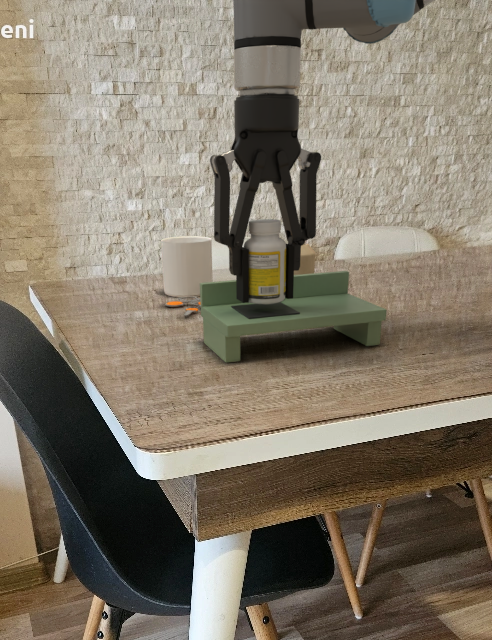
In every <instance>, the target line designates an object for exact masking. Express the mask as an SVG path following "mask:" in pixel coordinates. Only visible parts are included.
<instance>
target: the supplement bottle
mask: <svg viewBox="0 0 492 640" xmlns="http://www.w3.org/2000/svg"><path fill="white" fill-rule="evenodd" d="M281 230H282V221H281V220H280V219H271V218H261V219H252V220H249V222H248V234H250V238H248V239H247V240H245V241H244V243H243V247H244V248H247V249H249V303H254V304H274V303H279V302H281V301H283V300H284V299H285V292H286V240H285V239H283V238H281V237H280V234H281Z"/></svg>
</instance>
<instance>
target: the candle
mask: <svg viewBox="0 0 492 640" xmlns="http://www.w3.org/2000/svg"><path fill="white" fill-rule="evenodd" d="M315 267H316V252H315V250H314V249H313V248H312V247H311V245H310V244H309V243H306V244H305V243H304V245H302V246H301V258H300V268H299V270H297V271H294V275H301V274H313V273H315V269H316V268H315Z"/></svg>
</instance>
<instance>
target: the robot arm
mask: <svg viewBox="0 0 492 640" xmlns="http://www.w3.org/2000/svg"><path fill="white" fill-rule="evenodd" d="M232 1H233V5H232V6H233V7H232V8H233V68H234V69H233V81H234V83H233V84H234V88H233V89H234V90H235V91H236V92H239V96H237V97H235V99H234V101H233V106H234V107H233V108H234V109H233V113H234V114H233V115H234V120H233V121H234V124H233V125H234V139H233V142H232V145H231V147H230V150H228V151H225V152H223V153H220V154H212V155H211V156H210V157H209V163H210V166H211V170H212V173H213V177H214V185H213V188H214V191H213V192H214V193H213V195H214V196H213V198H214V199H213V200H214V201H213V208H214V209H213V240H214V242H216V243H218V244H220V245H224V246H226V247H227V248H228V270H229V273H230V274H231V275H232V276H233V277H235V280H236V299H238V300H239V301H241V302H242V303H249V249H247V248H244V243H245V238H246V234H247V231H248V227H249V221H250V217H251V214H252V210H253V206H254V202H255V198H256V194H257V192H258V191H259V187H260V184H264V183H267V182H270V183H272V184H271V185H272V187H273V189H274V191H275V195H276V200H277V203H278V207H279V212H280V217H281V220H282V221H281V222H282V225H283V229H284V234H285V238H286V241H287V243H286V242H285V243H286V292H285V298H287V299H292V298H293V286H294V271H297V270H299V268H300V258H301V246H302V245H304V244H305V243H306V241H308V240H313V239H314V238H315V237H316V236H317V184H318V183H317V178H318V175H317V174H318V170H319V168H320V165H321V161H322V153H320V152H317V151H310V150H307V149H304V148H302V146H301V143H300V140H299V135H298V134H299V128H300V127H299V126H300V125H299V124H300V98H299V96H298V95H297V94H296V95H295V91H297V90H299V88H300V87H301V60H302V59H301V58H302V57H301V54H302V49H301V48H302V33H303V32H302V31H304V30H309V31H310V30H321V29H324V30H325V29H343V30H344V31H345V32H346V34H347V35H348V37H350V38H351V39H352V40H353V41H356V42H358V43H364V44H365V45H367V44H369V45H370V44H372V45H373V44H376V43H379V42H381V41H383V40H385V39H386V38H388V37H390V36H391V35H392V34H393V33H394V31H395V30H396V29H397V28H398V26H399V25H401V24H407V23H408V22H409V21H411V20H412V18H413V17H414V16H415V15H416V14H417V13H419V12H420V11H421V10H422V9H424V8H425V7H427V6H428V5H430V4H431V3H433V2H434V1H435V0H232ZM297 161H298V164H297V165H298V168H299V169H300V170H299V214H298V210H297V206H296V202H295V198H294V197H295V196H294V193H293V180H292V176H291V170H292V168H293V166H294V165H295V163H296V162H297ZM234 162H235V163H236V165H237V167H238V168H239V170H240V171H241V173H242V174H241V177H240V182H239V192H238V196H237V201H236V205H235V209H234V212H233V213H234V214H233V217H232V223H231V226H230V218H231V217H230V213H231V174H230V173H231V172H232V170H233V163H234ZM298 215H299V216H298Z"/></svg>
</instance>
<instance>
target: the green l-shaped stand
mask: <svg viewBox="0 0 492 640" xmlns="http://www.w3.org/2000/svg"><path fill="white" fill-rule="evenodd" d="M349 282H350V271H348V270H337V271H326V272H314V273H313V274H301V275H294V286H293V298H292V299H287V298H285V299H284V300H283V301H281V302H279V303H274V304H254V303H242V302H241V301H239V300H238V299H236V279H232V280H231V279H230V280H219V281H213V282H205V283H200V296H199V299H200V304H201V307H200V317H202V329H203V330H202V331H203V344H204V345H206V346H207V347H208V348H209V349H210V350H211V351H213V352H214V354H215V355H217V357H219V358H220V359H221V360H222V361H223V362H224V363H225V364H226V363H235V362H241V337H246V336H255V335H264V334H274V333H282V332H292V331H301V330H311V329H320V328H329V327H330V328H331V327H333V329H334V330H336V331H337V332H339V333H341V334H343V335H345V336H347V337H349V338H351V339H352V340H354V341H356V342H358V343H360V344H362V345H364V346H365V347H374V346H379V345H381V336H382V335H381V334H382V325H383V322H385V321H387V312H388V311H387V309H386V308H384V307H382V306H379V305H377V304H375V303H372V302H370V301H367V300H365V299H363V298H360V297H358V296H355V295H353V294H352V293H351V294H350V293H349Z"/></svg>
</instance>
